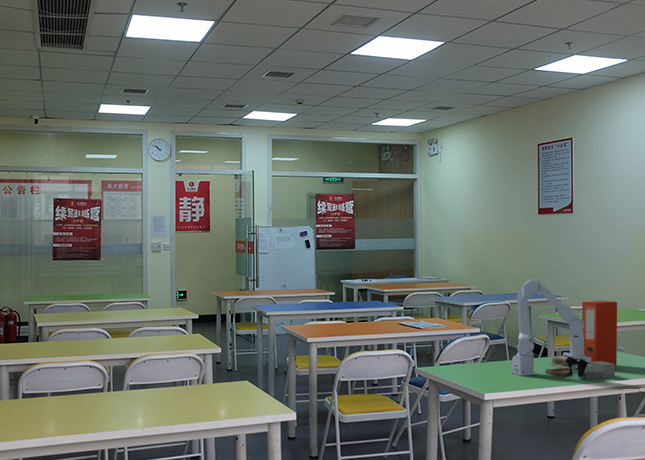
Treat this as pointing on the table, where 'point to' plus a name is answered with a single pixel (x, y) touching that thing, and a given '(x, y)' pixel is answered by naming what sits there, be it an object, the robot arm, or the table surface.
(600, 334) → the file binder
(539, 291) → the robot arm
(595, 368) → the bay
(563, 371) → the tray
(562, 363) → the packaged product
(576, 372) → the tall teal block
